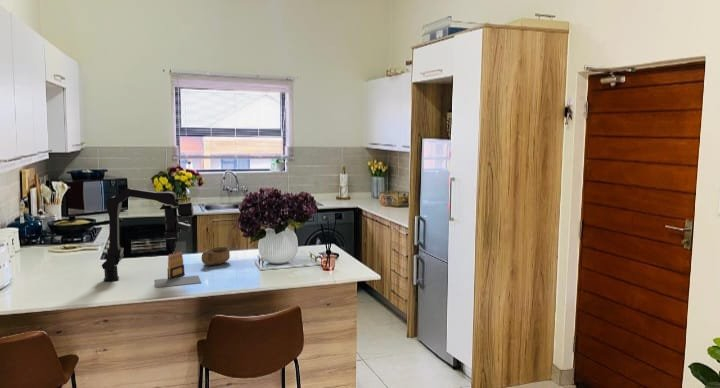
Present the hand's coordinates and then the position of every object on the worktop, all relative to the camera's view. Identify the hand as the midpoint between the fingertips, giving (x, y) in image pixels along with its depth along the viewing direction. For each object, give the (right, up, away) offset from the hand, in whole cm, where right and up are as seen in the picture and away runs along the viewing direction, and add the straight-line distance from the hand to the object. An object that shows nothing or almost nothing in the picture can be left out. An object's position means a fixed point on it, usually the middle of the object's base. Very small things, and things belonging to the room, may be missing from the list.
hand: (174, 249), depth 267 cm
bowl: (+13, -11, +26) cm, 31 cm away
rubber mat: (+5, -14, -9) cm, 17 cm away
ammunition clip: (+1, -13, 0) cm, 13 cm away
